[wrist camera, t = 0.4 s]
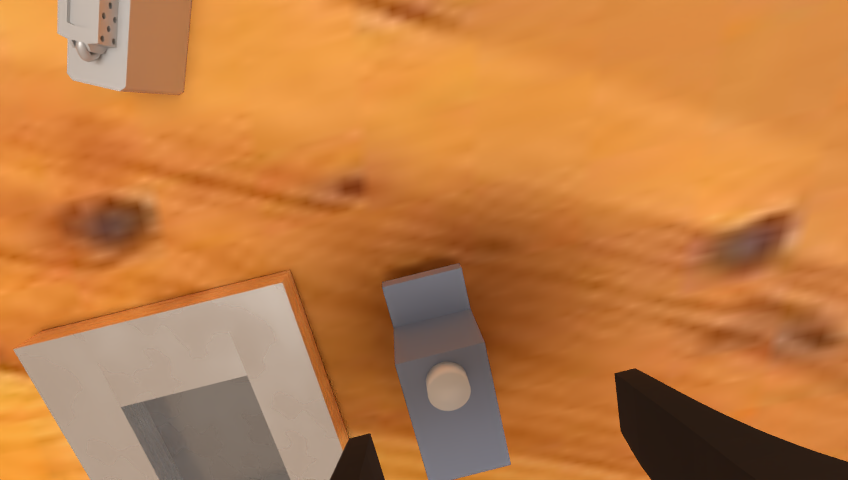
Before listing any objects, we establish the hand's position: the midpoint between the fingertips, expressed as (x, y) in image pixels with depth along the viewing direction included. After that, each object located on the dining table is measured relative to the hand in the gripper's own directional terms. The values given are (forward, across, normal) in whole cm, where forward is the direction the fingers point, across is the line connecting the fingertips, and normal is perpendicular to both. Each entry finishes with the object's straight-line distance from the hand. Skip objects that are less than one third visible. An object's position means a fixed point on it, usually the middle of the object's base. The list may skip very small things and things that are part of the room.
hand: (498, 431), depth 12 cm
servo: (+10, +1, +3) cm, 10 cm away
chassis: (+10, +13, +5) cm, 17 cm away
